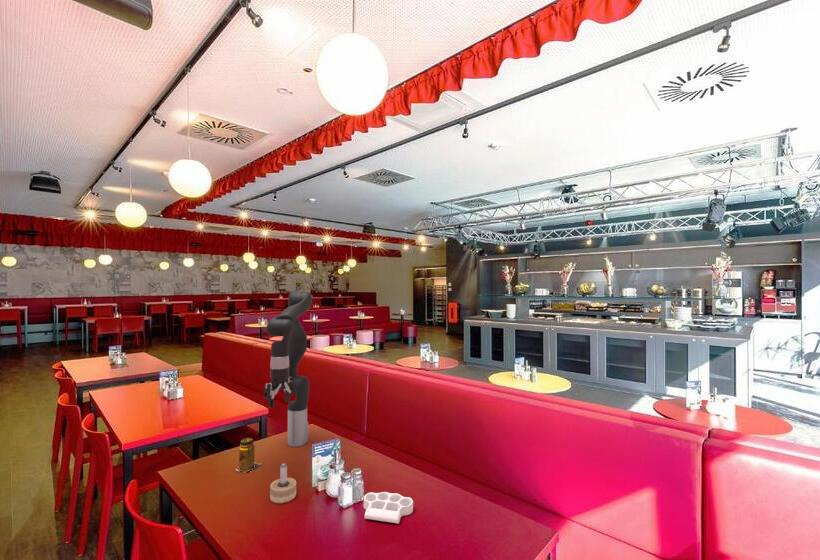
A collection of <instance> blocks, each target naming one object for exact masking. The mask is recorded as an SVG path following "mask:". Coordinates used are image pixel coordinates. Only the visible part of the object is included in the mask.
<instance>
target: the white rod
mask: <svg viewBox="0 0 820 560" xmlns="http://www.w3.org/2000/svg"><path fill="white" fill-rule="evenodd" d="M279 473H280V474H279V476H280V477H279V479H280V487H286V486H287V478H288V466H287V463H285V462H282V463H281V465H280V468H279Z"/></svg>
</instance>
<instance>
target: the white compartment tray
mask: <svg viewBox="0 0 820 560" xmlns="http://www.w3.org/2000/svg"><path fill="white" fill-rule="evenodd" d="M363 509H365V513H364V520H365V519H366V520H373V521H380V522H385V523H386V522H387V523H394V524H400V521H401V518H402V517H403V516H408V515H411V514H412V513H413V511H414V500H413V499H412V498H411V497H409V496H403V495H402V494H399V493H396V492H395V493H394V492H393V493H391V492H388V491H381V492H373V491H372V492H371V491H370V492H368V493H366V494H365V495H364V496H363Z"/></svg>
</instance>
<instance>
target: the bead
mask: <svg viewBox="0 0 820 560" xmlns="http://www.w3.org/2000/svg"><path fill="white" fill-rule="evenodd" d="M296 496H297V481H296V479H295V478H292V477H287V486H286V487H280V478H278V479H275V480H274V481H272V483H271V484H270V485H269V499H270V502H272V503H274V504H284V503H288V502H290V501H292V500H294V499H295V497H296Z"/></svg>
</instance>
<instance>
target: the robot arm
mask: <svg viewBox="0 0 820 560" xmlns="http://www.w3.org/2000/svg"><path fill="white" fill-rule="evenodd" d="M287 303H288V307H286V308H285V309H284V310H283V311H282V312H281V313H280V314H278V315H276V316H273V317H272V318H271V319H270V320H269V321H268V322H267V325H266V331H267V334H268V335H270V336H271V337H282V339H281V340H277V341H273V342H272V343H271V346H270V348H271V349H270V353H271V354H270V363H269V365H270V366H269V367H270V368H269V369H270V370H269V371H270V372H269V374H270V375H269V377H270V382H269V383H267V382H265V383H264V387H263V398H264V399H267V406H268V408H271V409H274V407H275V399H274V398H275V396H276V395H277V394H278V392H280V391H284V402H285V403H288V404H287V446H289V447H292V448H293V447H294V448H296V447H297V448H298V447H302V446H304V445H306V444H307V442H308V441H309V421H308V403H309V396H310V380H309V378H308V377H307V376H306V375H305V376H304V375H298V369H299V368H298V366H299V365H300V362H301V360H302V359H303V357H304V355H305V353H306V351H307V349H308V348H307V347H308V334H307V333H306V331H305V329H304V327H303V326H302V324H301V322H300V320H299V317H300V316H302V315H303V314H304V313H306V312H307V311H309V310H310V309H311V307H312V304H313V295H312V293H311V292H309V291H291V292H290V293H289V294H288V300H287ZM291 395H293V396H294V395H295V399H294V400H291Z"/></svg>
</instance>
